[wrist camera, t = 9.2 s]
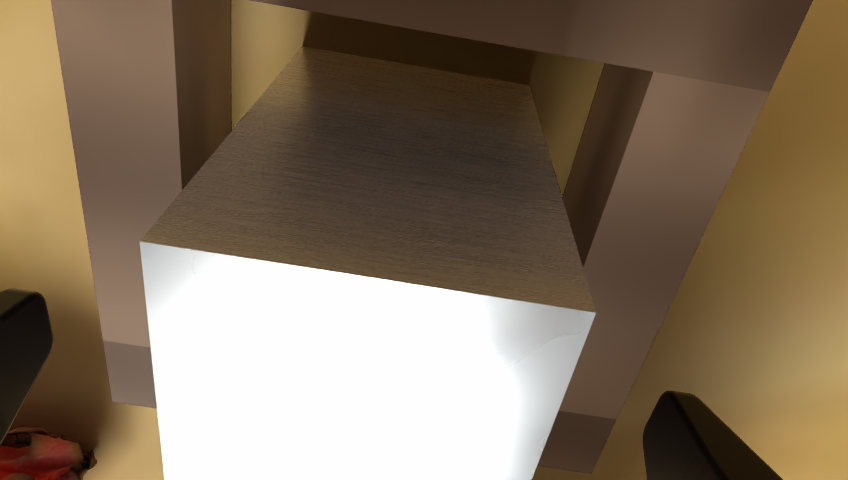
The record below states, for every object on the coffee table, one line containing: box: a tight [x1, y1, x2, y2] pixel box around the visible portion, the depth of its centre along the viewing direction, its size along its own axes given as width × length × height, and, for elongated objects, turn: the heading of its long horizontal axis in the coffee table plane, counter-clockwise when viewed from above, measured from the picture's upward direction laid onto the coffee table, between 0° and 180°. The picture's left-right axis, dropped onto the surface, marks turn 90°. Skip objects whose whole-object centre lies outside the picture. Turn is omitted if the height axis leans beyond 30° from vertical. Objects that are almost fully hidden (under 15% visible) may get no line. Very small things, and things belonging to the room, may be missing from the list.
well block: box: [51, 0, 813, 474], centre depth 14 cm, size 12×12×3 cm
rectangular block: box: [140, 46, 596, 480], centre depth 11 cm, size 5×5×8 cm
